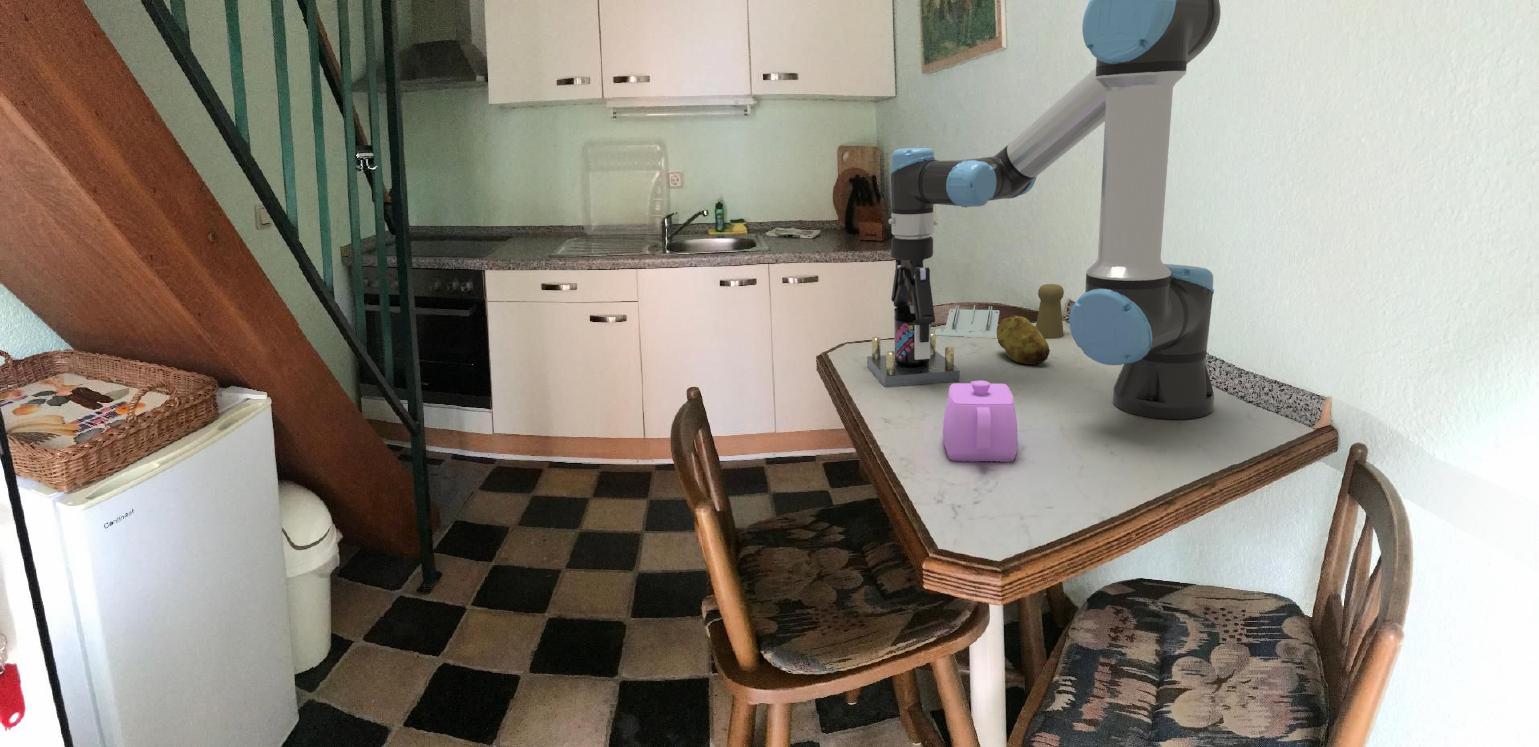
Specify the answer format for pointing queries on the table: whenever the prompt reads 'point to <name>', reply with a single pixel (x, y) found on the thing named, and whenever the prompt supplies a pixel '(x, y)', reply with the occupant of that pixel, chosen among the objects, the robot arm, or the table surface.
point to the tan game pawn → (1050, 311)
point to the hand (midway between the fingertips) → (911, 349)
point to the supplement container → (906, 338)
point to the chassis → (901, 376)
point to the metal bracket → (970, 323)
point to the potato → (1022, 340)
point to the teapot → (980, 422)
